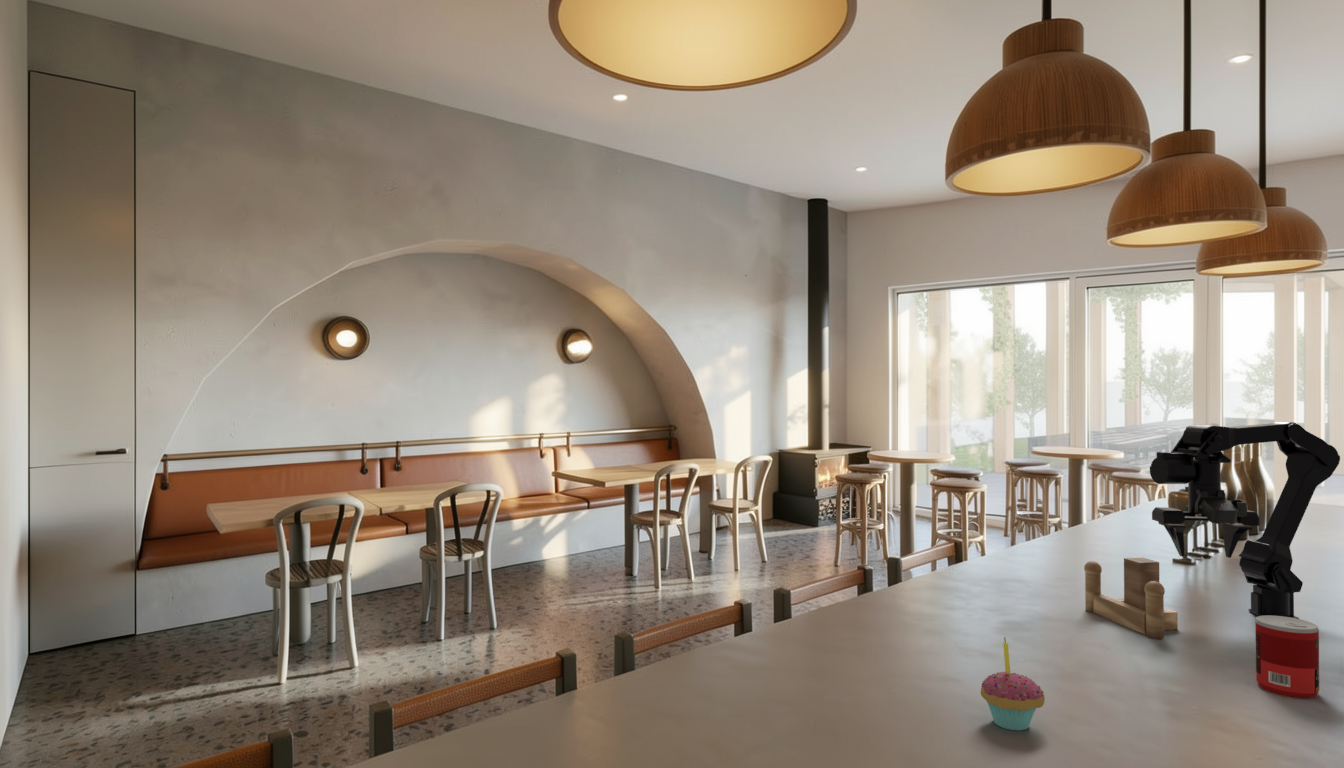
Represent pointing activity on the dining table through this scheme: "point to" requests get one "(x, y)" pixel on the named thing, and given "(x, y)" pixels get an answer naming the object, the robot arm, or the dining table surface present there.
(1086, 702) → the dining table surface
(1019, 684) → the cupcake
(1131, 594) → the block
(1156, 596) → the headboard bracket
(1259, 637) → the canned food
